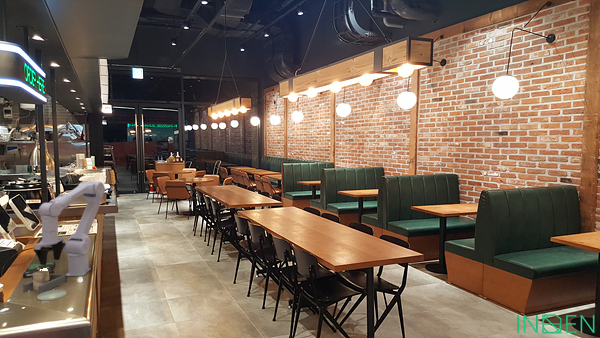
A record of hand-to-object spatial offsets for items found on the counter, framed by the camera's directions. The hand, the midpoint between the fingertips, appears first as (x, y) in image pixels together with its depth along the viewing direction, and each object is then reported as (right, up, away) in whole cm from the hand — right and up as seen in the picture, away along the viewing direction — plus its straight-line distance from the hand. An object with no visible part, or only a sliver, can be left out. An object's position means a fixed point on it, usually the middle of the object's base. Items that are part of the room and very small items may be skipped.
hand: (50, 262), depth 167 cm
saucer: (+8, -11, -11) cm, 17 cm away
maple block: (-1, -10, -4) cm, 11 cm away
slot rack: (-1, -10, -2) cm, 10 cm away
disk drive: (-15, -9, +16) cm, 24 cm away
